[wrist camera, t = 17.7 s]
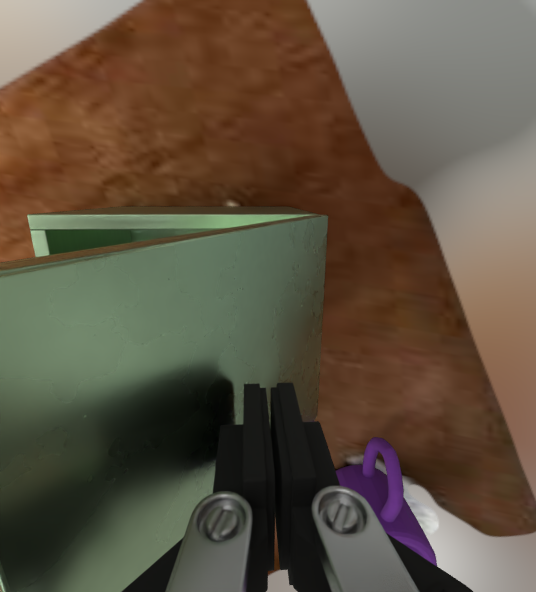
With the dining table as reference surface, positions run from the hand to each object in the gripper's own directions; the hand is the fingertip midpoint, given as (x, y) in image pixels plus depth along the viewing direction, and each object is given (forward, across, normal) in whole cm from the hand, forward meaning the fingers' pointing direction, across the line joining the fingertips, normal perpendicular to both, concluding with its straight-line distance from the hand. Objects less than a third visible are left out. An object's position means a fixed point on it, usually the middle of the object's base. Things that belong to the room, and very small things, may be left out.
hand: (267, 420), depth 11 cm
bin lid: (+2, +1, 0) cm, 2 cm away
